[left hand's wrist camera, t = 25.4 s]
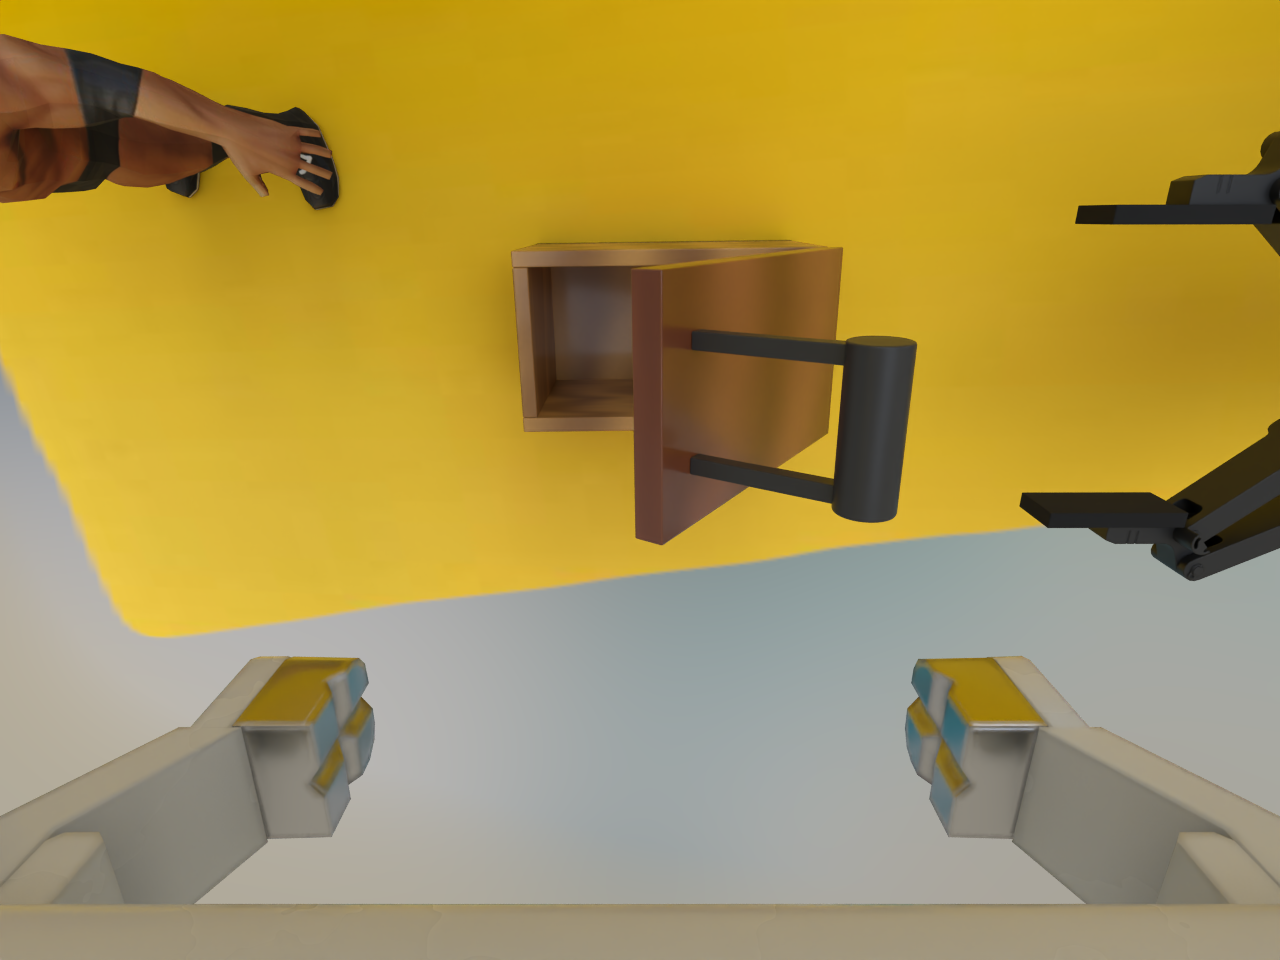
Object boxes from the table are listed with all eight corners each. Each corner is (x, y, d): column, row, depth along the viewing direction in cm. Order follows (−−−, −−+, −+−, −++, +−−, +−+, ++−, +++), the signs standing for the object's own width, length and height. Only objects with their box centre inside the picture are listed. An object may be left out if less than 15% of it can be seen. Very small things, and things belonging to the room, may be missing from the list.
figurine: (70, 190, 48) (-737, 154, 20) (52, 84, 46) (-883, -125, 18) (435, 225, 49) (157, 237, 21) (434, 122, 47) (123, -20, 18)
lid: (634, 538, 28) (867, 602, 23) (630, 268, 25) (903, 277, 20) (807, 430, 42) (975, 456, 37) (820, 247, 38) (1008, 249, 34)
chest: (547, 389, 53) (523, 432, 42) (538, 243, 49) (510, 250, 39) (780, 386, 53) (815, 428, 42) (788, 240, 49) (828, 246, 39)
